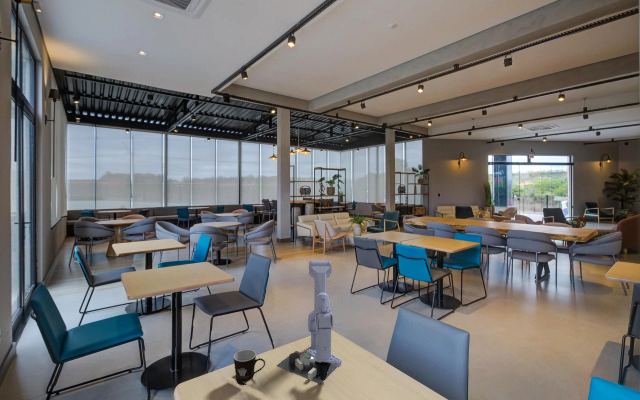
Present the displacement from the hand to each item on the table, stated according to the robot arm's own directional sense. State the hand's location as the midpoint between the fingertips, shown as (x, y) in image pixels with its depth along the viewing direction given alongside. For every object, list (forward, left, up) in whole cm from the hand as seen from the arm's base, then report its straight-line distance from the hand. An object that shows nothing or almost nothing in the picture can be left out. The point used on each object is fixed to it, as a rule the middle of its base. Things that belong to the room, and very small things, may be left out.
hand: (323, 378), depth 116 cm
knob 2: (-2, -5, -1) cm, 6 cm away
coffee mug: (+14, -26, -3) cm, 30 cm away
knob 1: (-3, -15, -1) cm, 16 cm away
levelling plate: (-5, -11, -3) cm, 13 cm away
